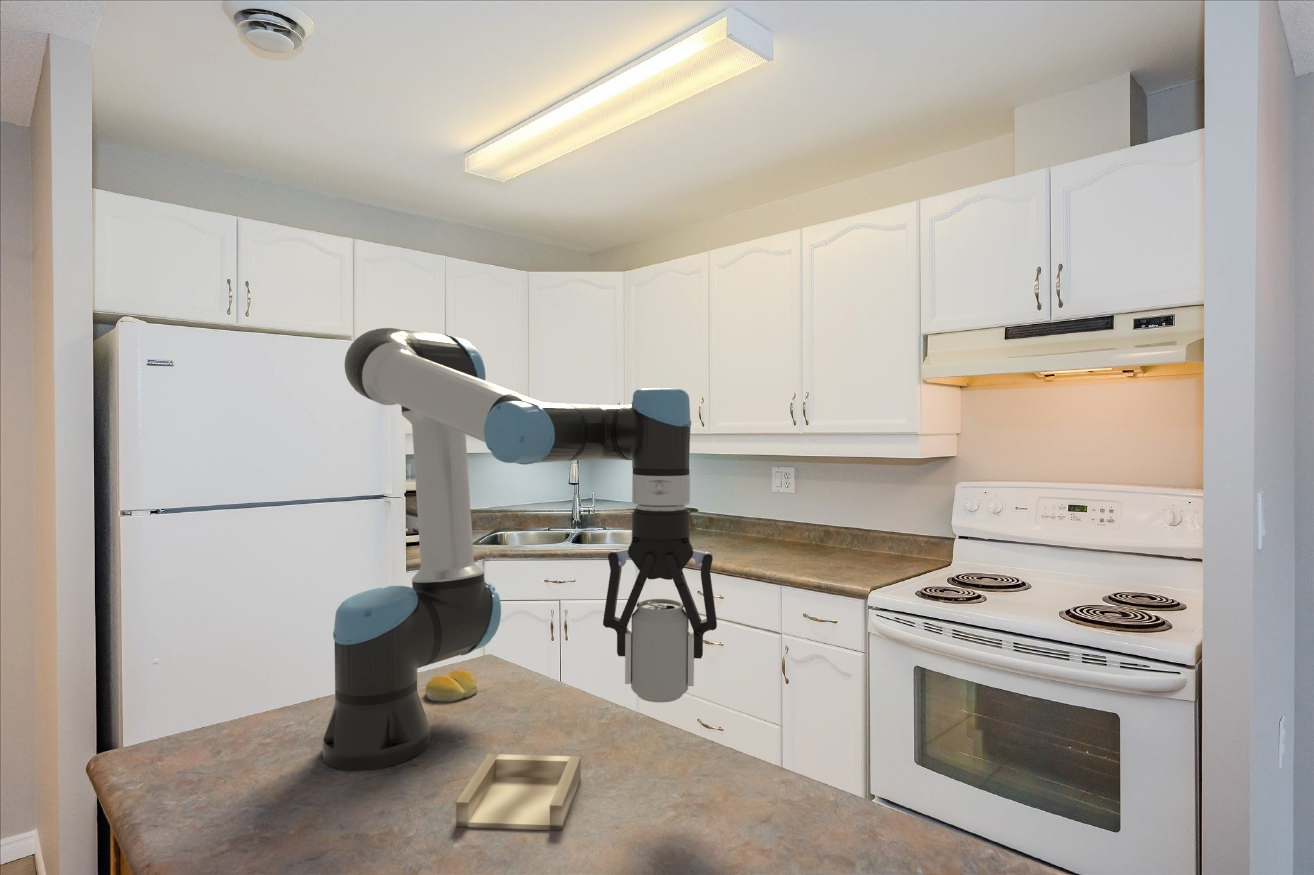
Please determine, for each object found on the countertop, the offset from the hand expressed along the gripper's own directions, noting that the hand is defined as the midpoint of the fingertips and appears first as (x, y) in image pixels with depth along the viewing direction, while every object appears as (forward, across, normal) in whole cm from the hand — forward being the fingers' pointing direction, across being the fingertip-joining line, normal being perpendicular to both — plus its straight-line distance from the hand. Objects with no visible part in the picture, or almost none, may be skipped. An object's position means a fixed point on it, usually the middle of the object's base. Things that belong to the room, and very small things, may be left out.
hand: (659, 681), depth 94 cm
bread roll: (+16, -40, +35) cm, 56 cm away
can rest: (+15, -18, -2) cm, 24 cm away
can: (+2, 0, 0) cm, 2 cm away
